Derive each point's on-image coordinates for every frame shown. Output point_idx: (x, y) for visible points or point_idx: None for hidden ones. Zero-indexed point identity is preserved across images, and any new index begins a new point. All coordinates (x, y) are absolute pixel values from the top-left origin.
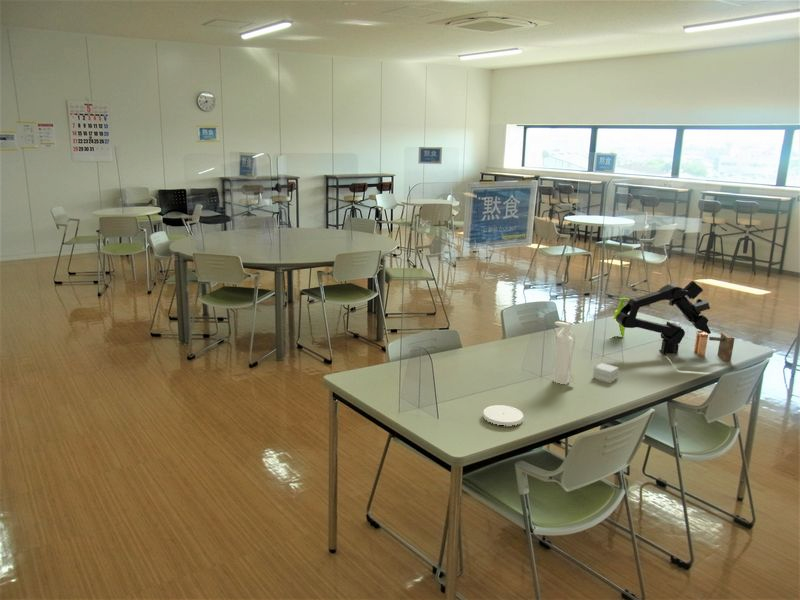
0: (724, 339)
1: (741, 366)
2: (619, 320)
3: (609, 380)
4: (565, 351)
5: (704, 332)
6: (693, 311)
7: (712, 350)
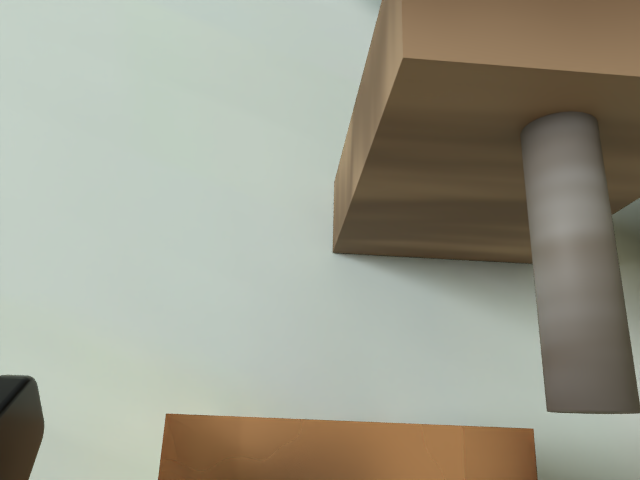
0: (603, 126)
1: None
2: None
3: None
4: None
5: (300, 447)
6: None
7: (87, 214)
